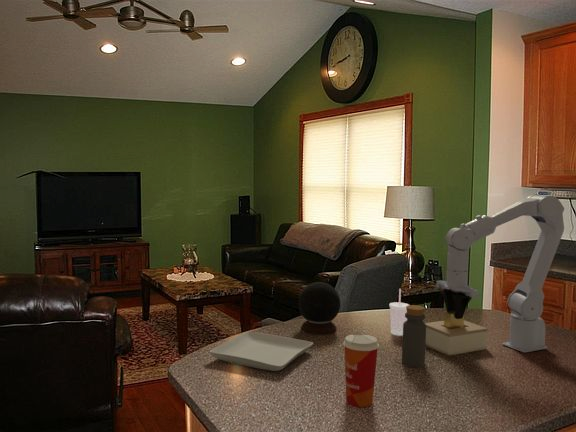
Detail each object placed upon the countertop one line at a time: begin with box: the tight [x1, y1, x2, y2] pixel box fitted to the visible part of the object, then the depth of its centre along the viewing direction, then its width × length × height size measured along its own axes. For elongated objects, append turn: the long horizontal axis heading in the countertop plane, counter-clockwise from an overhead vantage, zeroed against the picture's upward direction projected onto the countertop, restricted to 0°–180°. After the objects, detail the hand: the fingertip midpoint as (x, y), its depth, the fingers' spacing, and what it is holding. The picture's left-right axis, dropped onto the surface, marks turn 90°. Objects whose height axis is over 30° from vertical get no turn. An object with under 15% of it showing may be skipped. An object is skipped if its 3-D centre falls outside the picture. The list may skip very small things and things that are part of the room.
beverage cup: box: [388, 288, 410, 336], centre depth 165 cm, size 6×6×14 cm
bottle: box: [401, 304, 427, 368], centre depth 139 cm, size 6×6×15 cm
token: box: [443, 310, 465, 329], centre depth 153 cm, size 5×3×5 cm, turn 116°
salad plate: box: [208, 331, 314, 372], centre depth 142 cm, size 21×21×3 cm
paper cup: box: [342, 333, 380, 408], centre depth 115 cm, size 8×8×14 cm
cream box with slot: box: [424, 319, 488, 356], centre depth 154 cm, size 14×11×6 cm
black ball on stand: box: [298, 281, 341, 336], centre depth 168 cm, size 13×13×15 cm
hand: (455, 317), depth 153 cm, fingers closed on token, 3 cm apart
